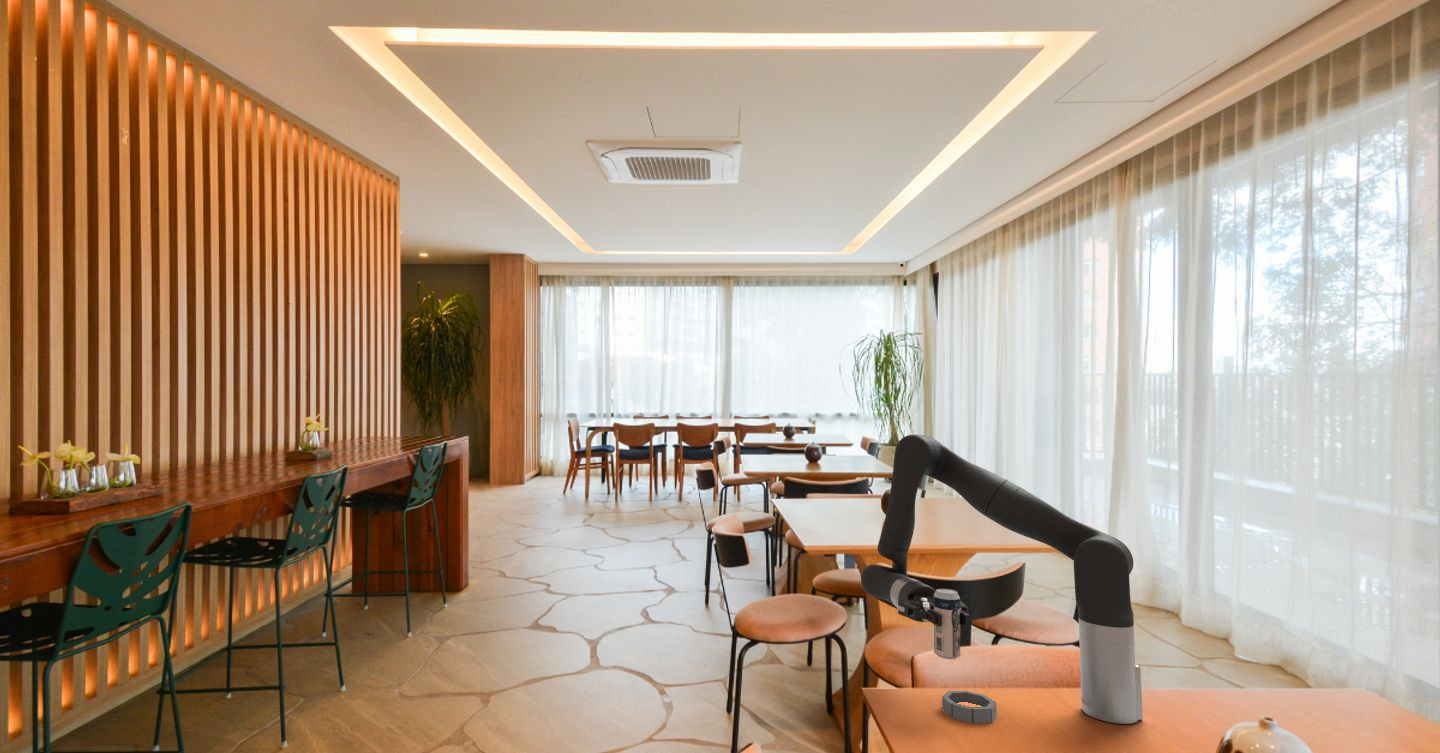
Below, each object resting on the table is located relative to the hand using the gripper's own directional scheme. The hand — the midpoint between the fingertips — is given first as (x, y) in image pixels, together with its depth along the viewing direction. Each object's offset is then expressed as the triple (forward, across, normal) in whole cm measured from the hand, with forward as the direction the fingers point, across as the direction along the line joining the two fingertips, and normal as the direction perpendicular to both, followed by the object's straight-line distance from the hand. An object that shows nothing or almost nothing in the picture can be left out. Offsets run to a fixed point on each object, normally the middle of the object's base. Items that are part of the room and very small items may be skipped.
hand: (953, 620), depth 121 cm
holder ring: (-2, +4, +18) cm, 18 cm away
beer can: (-3, 0, +7) cm, 8 cm away
